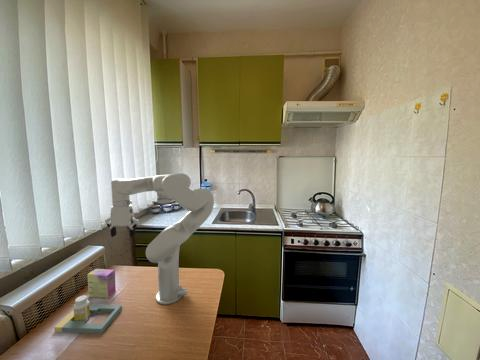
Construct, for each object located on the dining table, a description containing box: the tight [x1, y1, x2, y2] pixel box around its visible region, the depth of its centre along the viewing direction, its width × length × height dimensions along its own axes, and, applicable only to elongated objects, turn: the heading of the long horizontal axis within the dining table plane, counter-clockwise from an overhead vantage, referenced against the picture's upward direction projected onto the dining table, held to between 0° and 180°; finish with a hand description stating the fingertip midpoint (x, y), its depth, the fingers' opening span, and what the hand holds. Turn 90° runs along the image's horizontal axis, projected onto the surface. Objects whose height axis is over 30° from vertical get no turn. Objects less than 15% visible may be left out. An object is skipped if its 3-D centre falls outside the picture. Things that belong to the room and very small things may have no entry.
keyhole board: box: [53, 303, 123, 335], centre depth 88 cm, size 19×13×2 cm
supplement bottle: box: [73, 294, 91, 322], centre depth 87 cm, size 5×5×10 cm
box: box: [87, 268, 117, 299], centre depth 104 cm, size 10×6×12 cm, turn 84°
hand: (123, 236), depth 106 cm, fingers open, 9 cm apart
